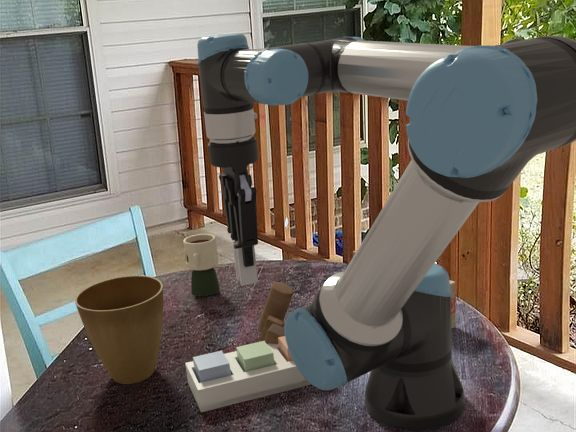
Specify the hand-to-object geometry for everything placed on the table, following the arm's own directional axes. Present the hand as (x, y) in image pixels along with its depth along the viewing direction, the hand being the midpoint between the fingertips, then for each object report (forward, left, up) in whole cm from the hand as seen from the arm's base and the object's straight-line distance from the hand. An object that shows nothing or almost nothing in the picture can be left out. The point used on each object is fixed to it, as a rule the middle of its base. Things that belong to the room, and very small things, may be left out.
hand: (247, 280), depth 120 cm
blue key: (0, +8, -16) cm, 18 cm away
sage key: (0, 0, -16) cm, 16 cm away
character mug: (+43, -1, -19) cm, 47 cm away
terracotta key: (0, -8, -16) cm, 18 cm away
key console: (0, 0, -18) cm, 18 cm away
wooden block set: (+13, -8, -19) cm, 24 cm away
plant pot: (+13, +19, -19) cm, 30 cm away
